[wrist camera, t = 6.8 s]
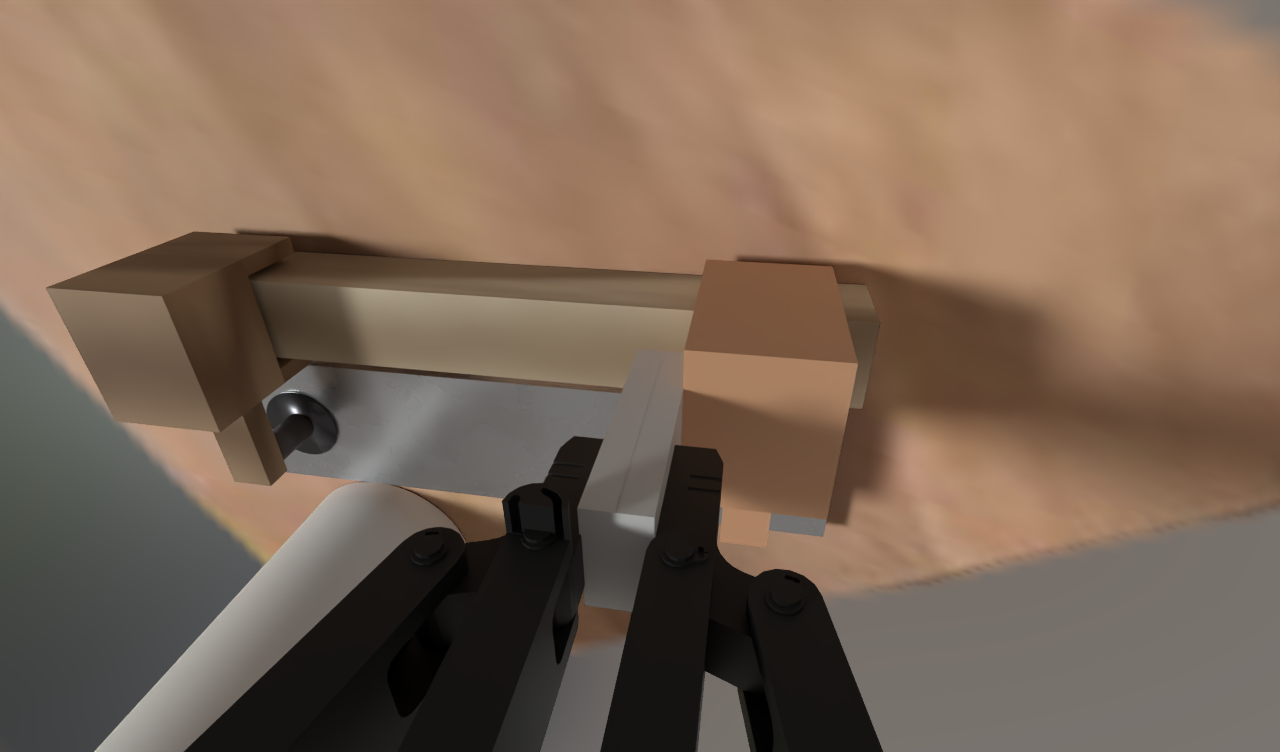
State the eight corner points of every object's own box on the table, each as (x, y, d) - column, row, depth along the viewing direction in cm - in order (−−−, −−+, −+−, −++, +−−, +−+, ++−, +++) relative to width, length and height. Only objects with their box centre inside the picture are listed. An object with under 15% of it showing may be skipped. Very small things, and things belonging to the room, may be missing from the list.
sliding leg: (706, 259, 20) (684, 350, 15) (832, 266, 20) (858, 363, 14) (695, 474, 25) (675, 604, 19) (797, 485, 24) (806, 623, 19)
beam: (209, 246, 24) (144, 273, 22) (866, 285, 21) (880, 323, 18) (234, 315, 26) (176, 348, 23) (851, 363, 22) (862, 409, 20)
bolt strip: (246, 347, 27) (226, 359, 26) (844, 398, 23) (847, 416, 22) (287, 457, 30) (271, 472, 29) (821, 519, 26) (823, 539, 25)
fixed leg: (193, 231, 23) (45, 287, 18) (289, 236, 22) (161, 296, 18) (268, 428, 28) (164, 514, 23) (349, 437, 27) (260, 527, 22)
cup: (460, 493, 29) (188, 918, 15) (480, 610, 33) (280, 1026, 19) (301, 471, 30) (-82, 848, 16) (340, 586, 34) (58, 963, 21)
